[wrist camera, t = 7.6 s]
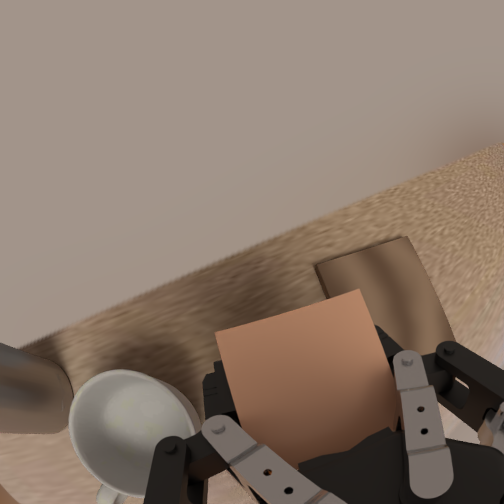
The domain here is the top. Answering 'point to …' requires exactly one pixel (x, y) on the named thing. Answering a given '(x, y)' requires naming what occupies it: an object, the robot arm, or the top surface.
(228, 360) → the peach colored cube
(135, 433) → the teacup
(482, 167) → the top surface
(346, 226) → the top surface
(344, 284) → the board
